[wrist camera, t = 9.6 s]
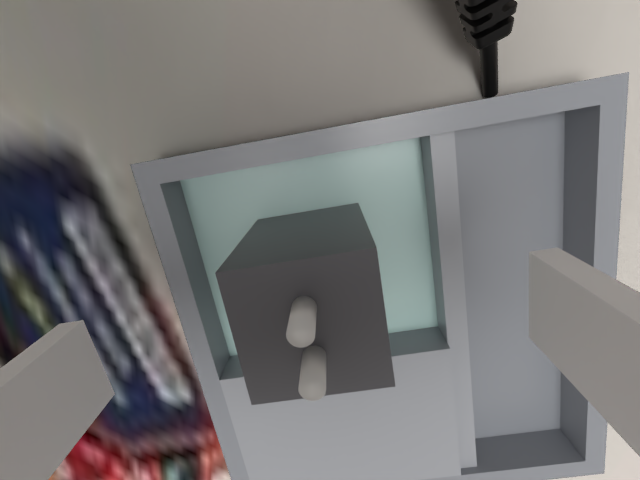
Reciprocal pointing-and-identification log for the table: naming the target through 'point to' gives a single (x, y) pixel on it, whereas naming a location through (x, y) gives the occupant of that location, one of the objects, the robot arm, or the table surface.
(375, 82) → the table surface
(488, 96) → the power plug
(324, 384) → the connector
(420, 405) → the walled box
